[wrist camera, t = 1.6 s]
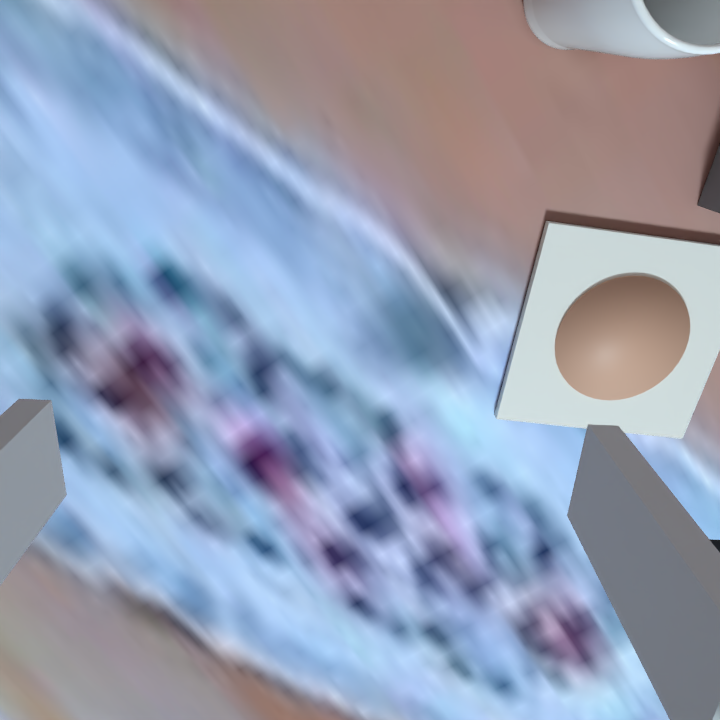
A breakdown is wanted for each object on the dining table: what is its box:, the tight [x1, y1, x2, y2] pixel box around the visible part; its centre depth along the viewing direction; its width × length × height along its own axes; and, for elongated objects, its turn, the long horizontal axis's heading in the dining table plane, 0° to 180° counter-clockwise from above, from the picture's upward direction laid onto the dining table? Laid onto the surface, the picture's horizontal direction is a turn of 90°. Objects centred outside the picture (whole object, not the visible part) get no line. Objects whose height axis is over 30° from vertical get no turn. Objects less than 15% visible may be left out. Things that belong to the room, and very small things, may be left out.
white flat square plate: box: [494, 221, 720, 439], centre depth 41 cm, size 14×14×1 cm
